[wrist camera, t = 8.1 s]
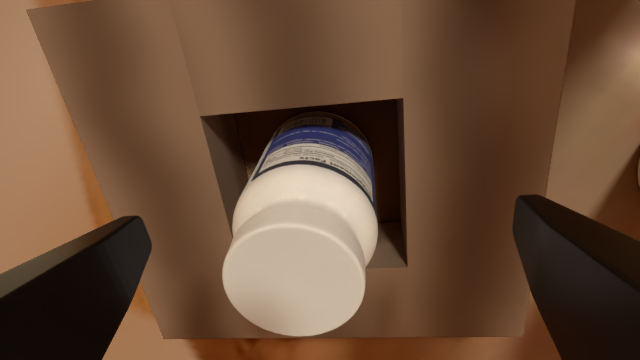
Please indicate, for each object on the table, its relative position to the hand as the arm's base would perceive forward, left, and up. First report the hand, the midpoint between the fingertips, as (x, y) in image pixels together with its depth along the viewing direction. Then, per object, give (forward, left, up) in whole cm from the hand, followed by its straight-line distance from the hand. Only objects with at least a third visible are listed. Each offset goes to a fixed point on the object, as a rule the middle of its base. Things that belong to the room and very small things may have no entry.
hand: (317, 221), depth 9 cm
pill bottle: (+1, +4, -12) cm, 12 cm away
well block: (+2, +4, -12) cm, 12 cm away
